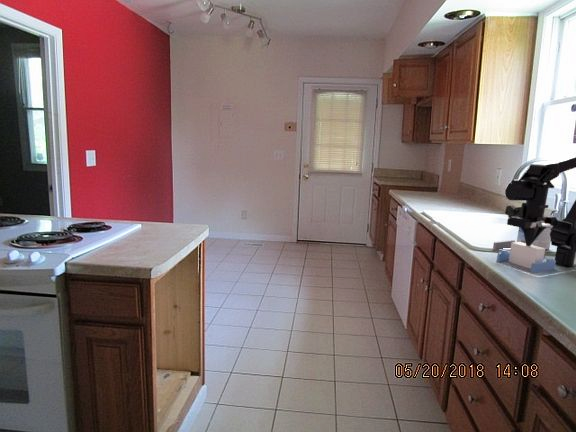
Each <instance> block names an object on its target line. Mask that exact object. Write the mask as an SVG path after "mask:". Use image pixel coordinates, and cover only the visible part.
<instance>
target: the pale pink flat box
mask: <svg viewBox="0 0 576 432" xmlns="http://www.w3.org/2000/svg"><path fill="white" fill-rule="evenodd" d="M544 253H545V254H546V252H545V248H542V247H538V246H534V245H531V246H527V245H526V243H523V242H517V241H515V242H512V243H511V249H510V255H509V261H508V262H511V263H514V264H517V265H521V266H524V267H527V268H530V269H531V265H532V263H537V262H544V258H545V257H544Z"/></svg>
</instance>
